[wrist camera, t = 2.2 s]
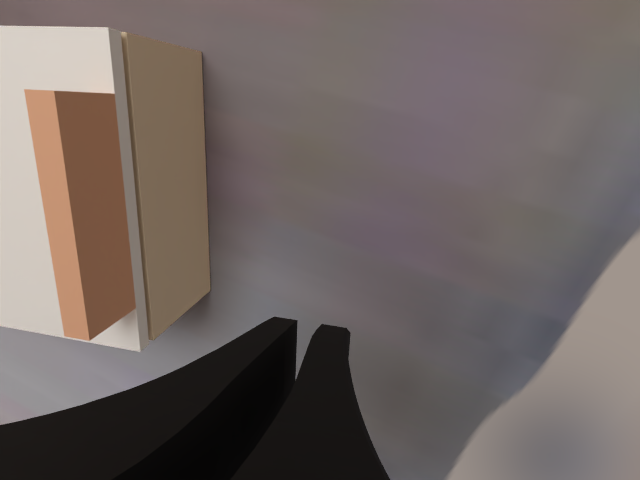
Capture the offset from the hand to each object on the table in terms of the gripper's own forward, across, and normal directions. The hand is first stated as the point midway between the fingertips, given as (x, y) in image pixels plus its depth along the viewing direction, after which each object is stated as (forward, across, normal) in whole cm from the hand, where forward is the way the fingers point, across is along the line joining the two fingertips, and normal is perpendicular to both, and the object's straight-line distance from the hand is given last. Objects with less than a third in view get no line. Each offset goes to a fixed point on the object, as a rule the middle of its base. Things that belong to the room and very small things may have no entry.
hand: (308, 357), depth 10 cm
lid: (+5, +15, -2) cm, 16 cm away
